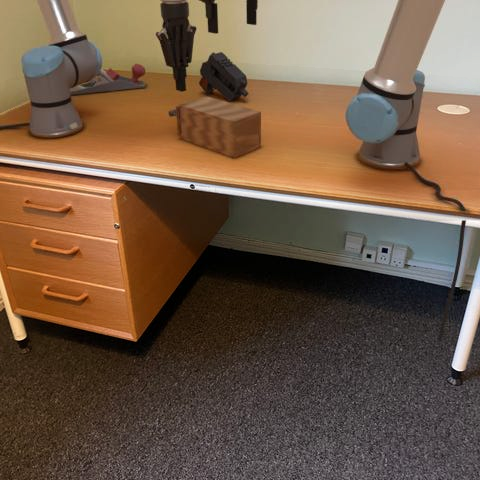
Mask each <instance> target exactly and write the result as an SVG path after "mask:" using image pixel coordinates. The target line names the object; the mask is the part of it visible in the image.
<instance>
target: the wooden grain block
mask: <svg viewBox="0 0 480 480" xmlns="http://www.w3.org/2000/svg"><path fill="white" fill-rule="evenodd" d="M178 105H179V111H180V123H181V134H180V135H181V140H183V141H186V142H189V143H191V144H195V145H196V146H197V145H198V146H199V147H203V148H207V149H209V150H211V151H214V152H217V153H220V154H222V155H225V156H228V157H230V158H234V159H237V158H239V157H241V156H243V155H245V154H248V153H250V152H252V151H256V150H257V149H259V148H261V147H262V111H260V110H256V109H254V108H249V107H246V106H241V105H239V104H234V103H231V102H229V101H223V100H220V99H216V98H214V97H210V96H204V97H203V96H202V97H200V98H197V99H193V100H190V101H187V102H184V103H182V104H178Z"/></svg>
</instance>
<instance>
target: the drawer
mask: <svg viewBox="0 0 480 480" xmlns="http://www.w3.org/2000/svg"><path fill="white" fill-rule="evenodd" d="M179 105H180V104H178V105H175V109H170V110H169V111H168V113H167V114H168V117H170V118H171V117H172V118H173V117H176V123H177V124H176V125H177V134H178V135H181V123H180V111H179Z"/></svg>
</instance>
